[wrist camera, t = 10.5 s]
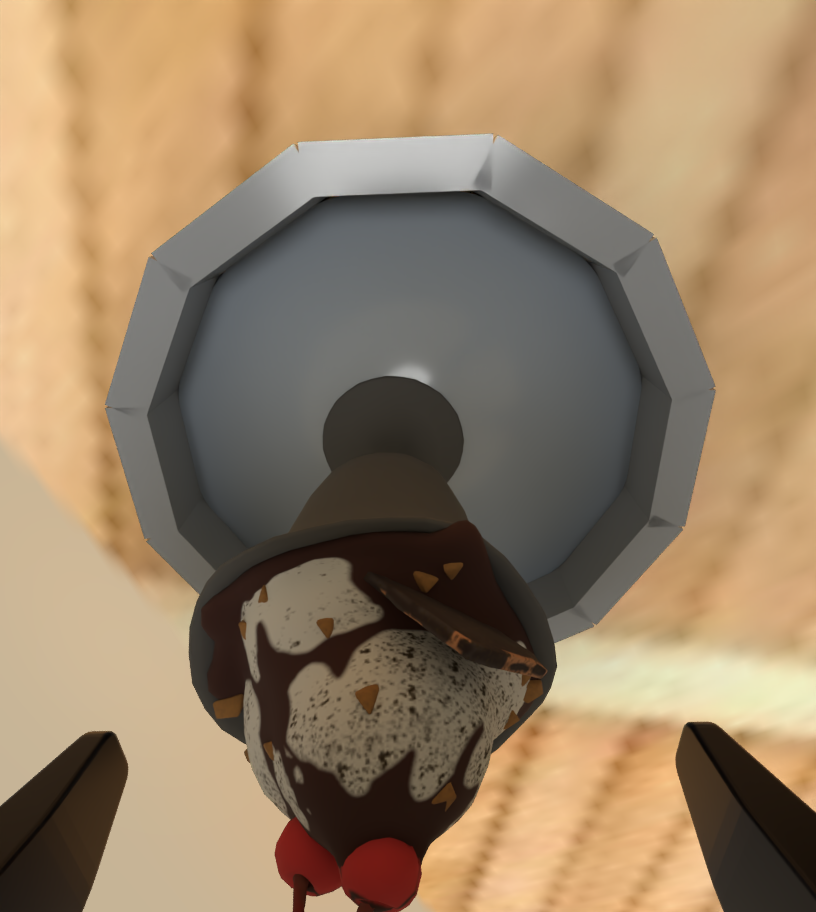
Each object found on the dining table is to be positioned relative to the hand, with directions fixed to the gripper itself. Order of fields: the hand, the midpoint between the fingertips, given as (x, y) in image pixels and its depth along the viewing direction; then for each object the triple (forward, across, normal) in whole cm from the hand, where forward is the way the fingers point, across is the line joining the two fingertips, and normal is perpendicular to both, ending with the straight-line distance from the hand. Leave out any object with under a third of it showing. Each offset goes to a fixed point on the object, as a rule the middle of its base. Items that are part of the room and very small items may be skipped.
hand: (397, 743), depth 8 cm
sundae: (+12, 0, 0) cm, 12 cm away
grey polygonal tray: (+12, 0, 0) cm, 13 cm away
